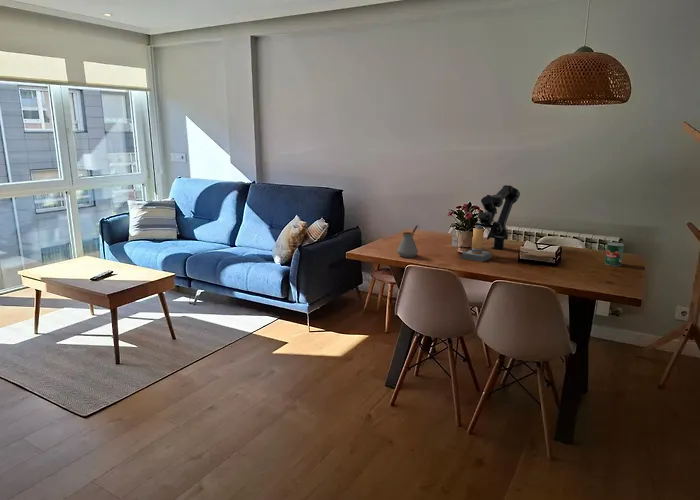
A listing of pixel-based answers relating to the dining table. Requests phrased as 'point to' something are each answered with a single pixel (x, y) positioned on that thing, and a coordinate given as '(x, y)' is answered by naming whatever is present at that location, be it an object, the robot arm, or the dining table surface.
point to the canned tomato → (614, 253)
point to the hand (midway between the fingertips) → (479, 238)
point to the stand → (477, 256)
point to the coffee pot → (408, 245)
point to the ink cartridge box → (454, 239)
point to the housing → (477, 239)
